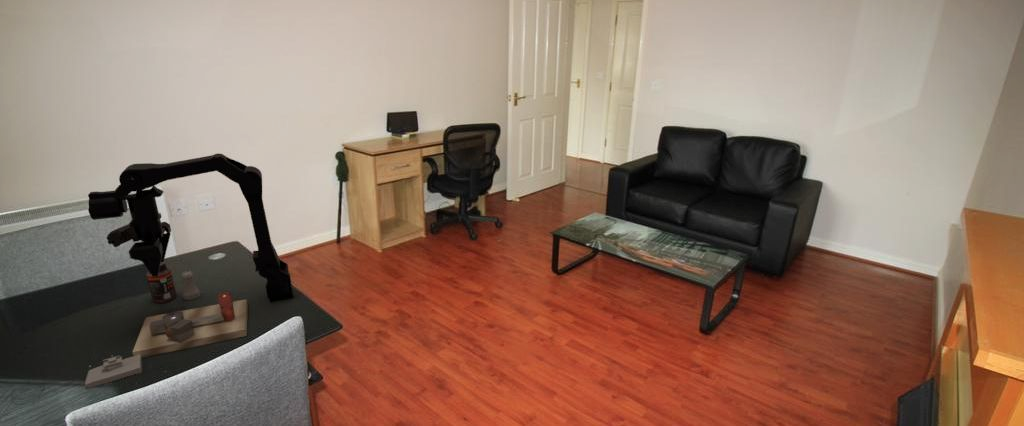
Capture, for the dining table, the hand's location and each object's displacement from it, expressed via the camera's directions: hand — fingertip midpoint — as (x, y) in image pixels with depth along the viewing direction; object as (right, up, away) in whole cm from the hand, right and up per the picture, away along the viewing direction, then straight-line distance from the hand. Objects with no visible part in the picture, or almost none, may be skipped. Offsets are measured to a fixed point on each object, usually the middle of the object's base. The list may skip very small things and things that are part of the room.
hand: (158, 268), depth 131 cm
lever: (+12, -14, -3) cm, 19 cm away
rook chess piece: (-1, -10, +15) cm, 18 cm away
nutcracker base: (+11, -16, -1) cm, 19 cm away
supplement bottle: (-8, -11, +14) cm, 19 cm away
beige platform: (+2, -22, -17) cm, 28 cm away
